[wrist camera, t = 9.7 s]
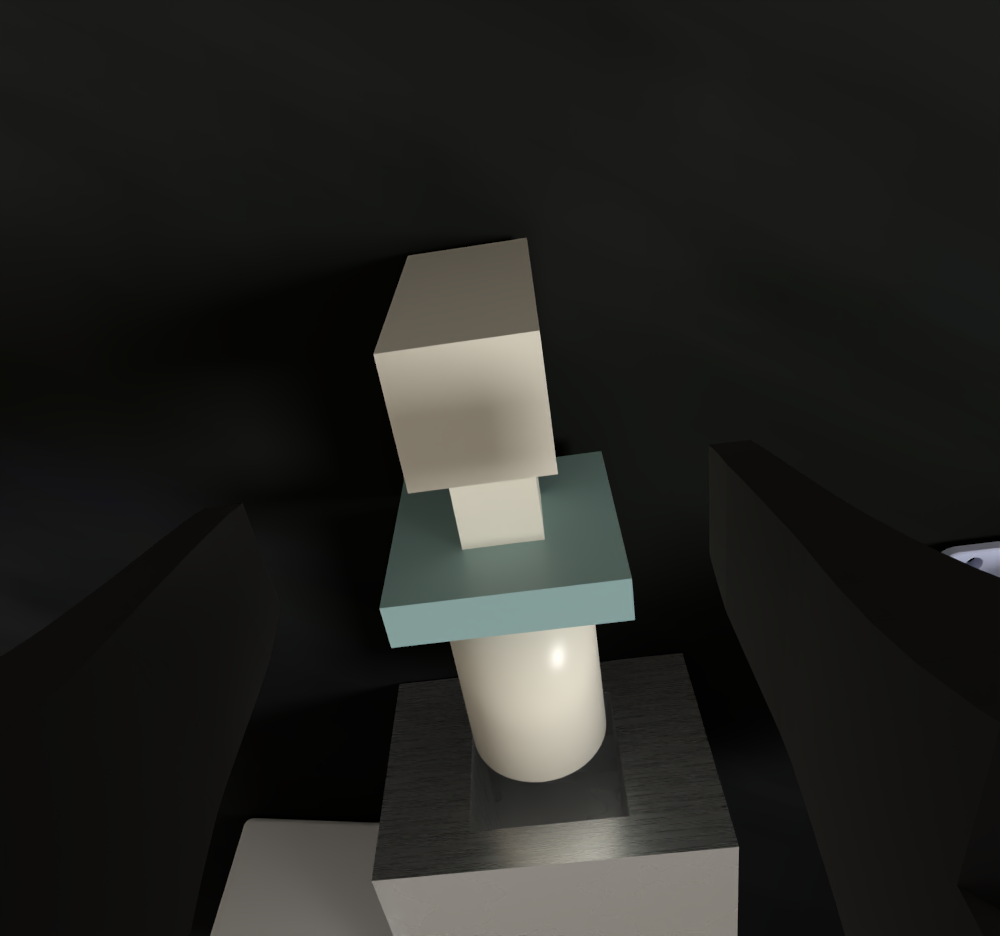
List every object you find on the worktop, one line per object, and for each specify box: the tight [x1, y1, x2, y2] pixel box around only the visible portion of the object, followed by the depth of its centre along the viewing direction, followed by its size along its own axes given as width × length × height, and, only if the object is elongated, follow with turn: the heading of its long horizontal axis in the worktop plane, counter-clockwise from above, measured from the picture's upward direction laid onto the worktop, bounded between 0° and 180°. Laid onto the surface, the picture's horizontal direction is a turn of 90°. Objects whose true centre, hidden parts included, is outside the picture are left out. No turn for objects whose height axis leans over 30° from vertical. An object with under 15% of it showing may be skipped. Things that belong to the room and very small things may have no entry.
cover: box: [373, 238, 635, 782], centre depth 20 cm, size 6×14×6 cm, turn 8°
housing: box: [372, 653, 739, 936], centre depth 26 cm, size 10×9×7 cm
